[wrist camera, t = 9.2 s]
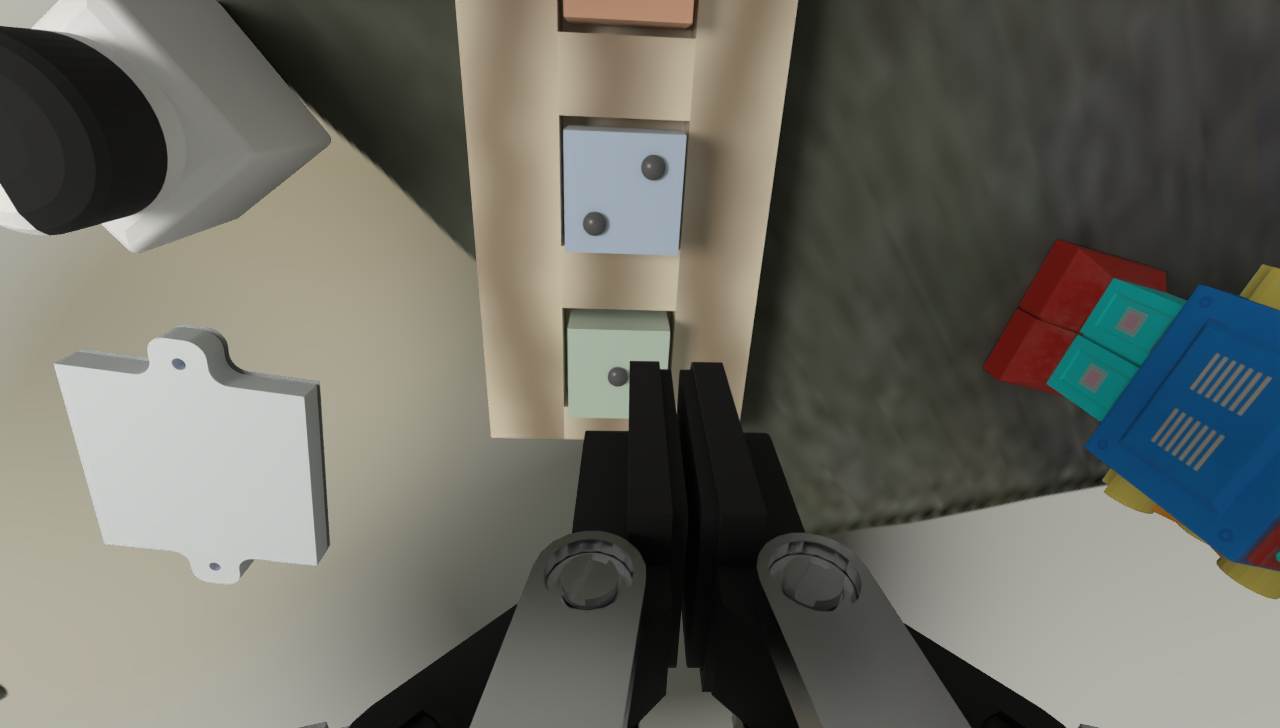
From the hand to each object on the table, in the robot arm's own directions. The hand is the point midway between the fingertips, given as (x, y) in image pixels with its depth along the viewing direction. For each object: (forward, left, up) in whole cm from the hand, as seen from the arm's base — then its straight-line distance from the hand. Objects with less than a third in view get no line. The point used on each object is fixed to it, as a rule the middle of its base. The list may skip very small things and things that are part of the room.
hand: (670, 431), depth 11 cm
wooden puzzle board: (+1, -2, -22) cm, 22 cm away
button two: (+1, -2, -19) cm, 19 cm away
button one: (+1, +8, -20) cm, 21 cm away
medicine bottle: (+20, -4, -22) cm, 30 cm away
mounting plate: (+26, +16, -22) cm, 38 cm away
